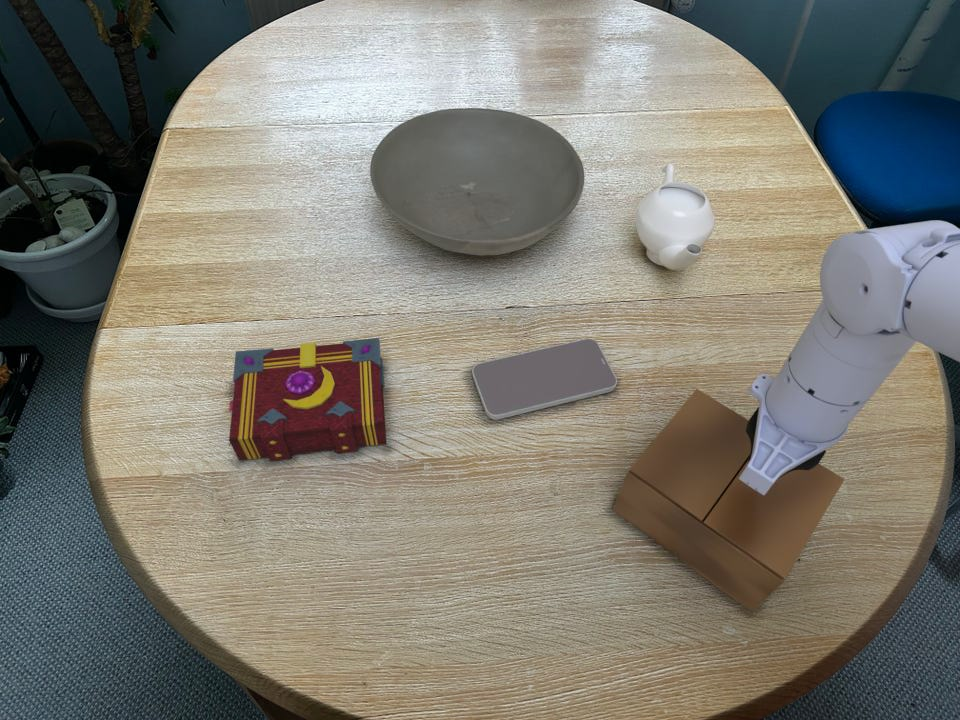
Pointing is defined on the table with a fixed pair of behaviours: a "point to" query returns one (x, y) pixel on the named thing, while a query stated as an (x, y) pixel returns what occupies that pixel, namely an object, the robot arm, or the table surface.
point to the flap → (775, 515)
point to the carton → (696, 496)
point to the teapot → (674, 222)
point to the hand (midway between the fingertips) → (761, 471)
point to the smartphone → (543, 378)
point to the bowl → (477, 179)
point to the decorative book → (307, 400)
